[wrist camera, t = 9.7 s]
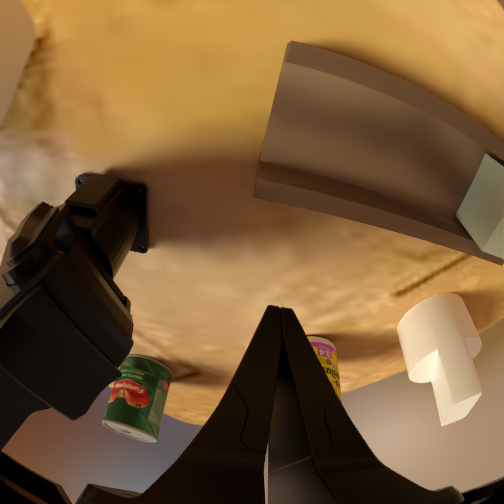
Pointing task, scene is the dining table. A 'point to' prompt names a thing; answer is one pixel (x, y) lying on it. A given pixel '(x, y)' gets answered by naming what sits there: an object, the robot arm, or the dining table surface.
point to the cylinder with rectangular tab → (443, 352)
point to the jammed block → (485, 207)
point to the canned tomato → (138, 398)
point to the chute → (371, 149)
